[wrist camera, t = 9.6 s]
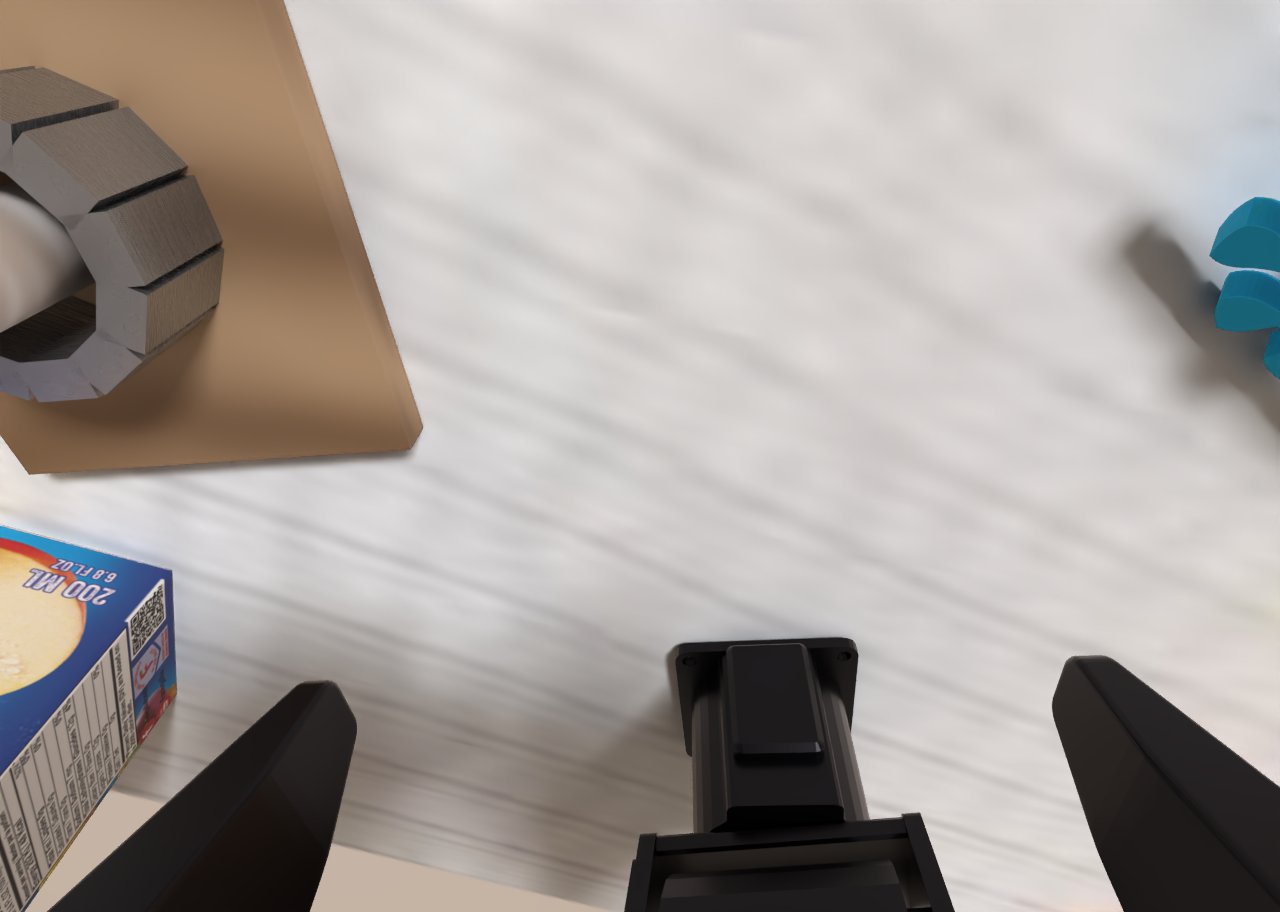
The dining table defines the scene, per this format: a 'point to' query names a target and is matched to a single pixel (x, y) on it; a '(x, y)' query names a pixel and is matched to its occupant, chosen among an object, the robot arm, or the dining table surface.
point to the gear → (1251, 273)
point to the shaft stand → (252, 240)
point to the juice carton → (71, 691)
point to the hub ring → (103, 237)
